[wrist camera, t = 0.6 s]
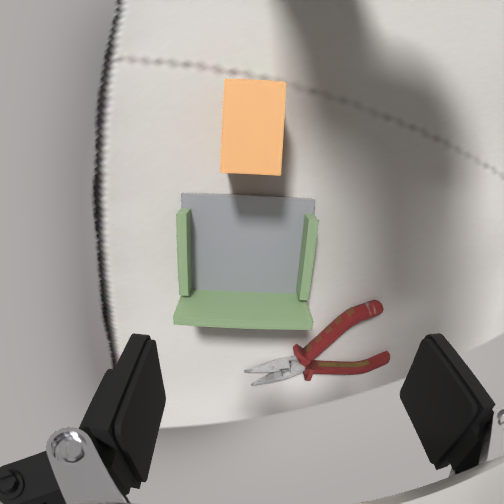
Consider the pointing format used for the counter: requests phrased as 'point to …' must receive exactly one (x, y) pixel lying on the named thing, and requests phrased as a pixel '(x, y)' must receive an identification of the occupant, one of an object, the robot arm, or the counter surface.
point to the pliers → (306, 355)
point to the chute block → (252, 126)
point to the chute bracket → (245, 261)
